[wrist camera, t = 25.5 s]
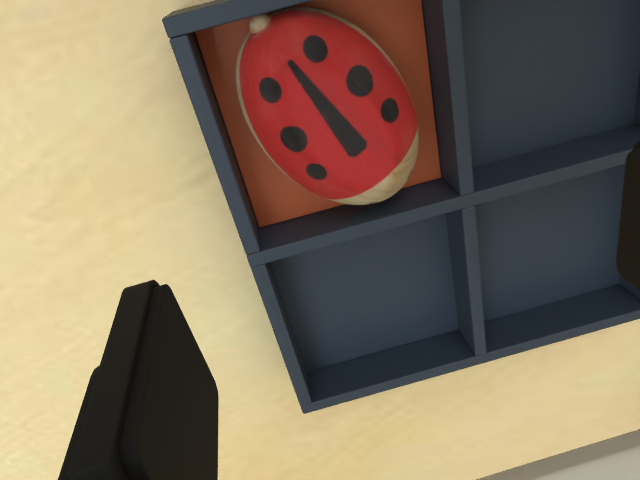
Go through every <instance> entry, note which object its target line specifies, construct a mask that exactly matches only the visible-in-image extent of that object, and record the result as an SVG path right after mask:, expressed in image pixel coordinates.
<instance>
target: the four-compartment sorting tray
mask: <svg viewBox="0 0 640 480" xmlns="http://www.w3.org/2000/svg"><path fill="white" fill-rule="evenodd" d="M288 7H309V8H315V9H320V10H324V11H327V12H330V13H333V14H336V15H338V16H340V17H342V18H344V19H346V20H348V21H350V22H352V23H353V24H355V25H356V26H357V27H359V28H360V29H361V30H363V31H364V32H365V33H366V34H367V35H369V36H370V37H371V38H372V39H373V40H374V41H375V42H376V43H377V44H378V45H379V46H380V47H381V48H382V49H383V50H384V52H385V53H386V54H387V55H388V57H389V58H390V59H391V61H392V62H393V64H394V65H395V67H396V68H397V70H398V72H399V73H400V75H401V77H402V79H403V80H404V82H405V84H406V86H407V88H408V90H409V93H410V95H411V98H412V100H413V103H414V107H415V110H416V114H417V120H418V128H419V146H418V154H417V159H416V162H415V165H414V168H413V171H412V173H411V175H410V177H409V178H408V180H407V182H406V183H405V184H404V185H403V187H402V188H401V189H400V190H399V191H398V192H397V193H395V194H394V195H393V196H391V197H389V198H388V199H386V200H384V201H381V202H378V203H373V204H367V205H350V204H344V203H338V202H335V201H332V200H328V199H325V198H323V197H321V196H318V195H316V194H314V193H312V192H310V191H308V190H307V189H305V188H303V187H302V186H300V185H299V184H297V183H296V182H295V181H293V180H292V179H291V178H289V177H288V176H287V175H286V174H285V173H284V172H282V171H281V170H280V169H279V168H278V167H277V166H276V165H275V164H274V163H273V162H272V161H271V159H270V158H269V157H268V156H267V155H266V153H265V152H264V151H263V149H262V148H261V146H260V145H259V143H258V142H257V140H256V139H255V137H254V135H253V134H252V132H251V130H250V128H249V126H248V124H247V122H246V120H245V117H244V115H243V112H242V109H241V105H240V102H239V98H238V93H237V86H236V63H237V57H238V53H239V49H240V47H241V44H242V42H243V40H244V38H245V36H246V35H247V33H248V32H249V31H250V27H249V23H250V21H251V19H252V18H253V17H254V16H256V15H260V14H266V15H268V14H270V13H272V12H274V11H276V10H279V9H283V8H288ZM162 21H163V24H164V27H165V30H166V32H167V35H168V37H169V38H171V39H170V43H171V46H172V49H173V52H174V54H175V57H176V60H177V63H178V66H179V68H180V71H181V74H182V77H183V80H184V82H185V85H186V88H187V91H188V94H189V96H190V99H191V102H192V105H193V108H194V110H195V113H196V116H197V119H198V121H199V124H200V127H201V130H202V133H203V135H204V138H205V141H206V144H207V147H208V149H209V152H210V155H211V158H212V161H213V163H214V166H215V169H216V172H217V174H218V177H219V180H220V183H221V186H222V188H223V191H224V194H225V197H226V200H227V202H228V205H229V208H230V211H231V214H232V216H233V219H234V222H235V225H236V227H237V230H238V233H239V236H240V239H241V241H242V244H243V247H244V250H245V253H246V254H247V258H248V261H249V264H250V266H251V269H252V272H253V275H254V278H255V281H256V283H257V286H258V289H259V292H260V295H261V297H262V300H263V303H264V306H265V309H266V311H267V314H268V317H269V320H270V322H271V325H272V328H273V331H274V334H275V336H276V339H277V342H278V345H279V348H280V350H281V353H282V356H283V359H284V362H285V364H286V367H287V370H288V373H289V375H290V378H291V381H292V384H293V387H294V389H295V392H296V395H297V398H298V401H299V403H300V406H301V409H302V412H303V413H304V414H305V413H309V412H312V411H316V410H319V409H323V408H326V407H330V406H333V405H337V404H340V403H344V402H347V401H351V400H355V399H358V398H362V397H365V396H369V395H372V394H376V393H379V392H383V391H386V390H390V389H393V388H397V387H400V386H404V385H407V384H411V383H414V382H418V381H421V380H425V379H429V378H432V377H436V376H439V375H443V374H446V373H450V372H453V371H457V370H460V369H464V368H467V367H471V366H474V365H478V364H481V363H485V362H488V361H492V360H496V359H499V358H503V357H506V356H510V355H513V354H517V353H520V352H524V351H527V350H531V349H534V348H538V347H541V346H545V345H548V344H552V343H555V342H559V341H563V340H566V339H570V338H573V337H577V336H580V335H584V334H587V333H591V332H594V331H598V330H601V329H605V328H608V327H612V326H615V325H619V324H622V323H626V322H629V321H633V320H637V319H640V291H638V290H637V289H636V288H635V287H633V286H632V285H631V284H630V283H628V282H627V281H626V280H624V279H623V278H622V277H621V275H620V274H619V272H618V270H617V267H616V254H617V244H618V234H619V224H620V214H621V204H622V194H623V184H624V174H625V164H626V158H627V155H628V153H629V152H631V151H632V149H633V147H634V145H635V144H636V143H637V142H639V141H640V0H215V1H212V2H208V3H204V4H200V5H197V6H193V7H189V8H185V9H182V10H178V11H174V12H172V13H170V14H169V15H167V16H166V17H164V18H163V19H162Z"/></svg>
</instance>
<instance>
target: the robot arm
mask: <svg viewBox="0 0 640 480" xmlns="http://www.w3.org/2000/svg"><path fill="white" fill-rule="evenodd" d="M616 267H617V270H618V272H619V274H620V275H621V277H622V278H623V279H624V280H626V281H627V282H628V283H630V284H631V285H632V286H633V287H635V288H636V289H637V290H638V291H640V141H639V142H637V143H636V144H635V145H634V147H633V149H632V151H631V152H629V153H628V155H627V158H626V164H625V174H624V184H623V194H622V204H621V214H620V224H619V234H618V244H617V254H616ZM217 478H218V390H217V386H216V383H215V380H214V378H213V376H212V374H211V372H210V370H209V367H208V365H207V363H206V361H205V359H204V357H203V355H202V353H201V351H200V349H199V347H198V344H197V342H196V340H195V338H194V336H193V334H192V332H191V330H190V328H189V326H188V324H187V321H186V319H185V317H184V315H183V313H182V311H181V309H180V307H179V305H178V303H177V301H176V298H175V296H174V294H173V292H172V290H171V288H170V287H169V286H168V285H167V284H165V285H161V286H160V285H159V284H158V283H157V282H156V281H155V280H151V281H148V282H144V283H141V284H137V285H134V286H130V287H127V288H125V289H124V290H123V292H122V295H121V298H120V301H119V305H118V308H117V311H116V314H115V318H114V321H113V324H112V327H111V331H110V334H109V337H108V341H107V344H106V347H105V350H104V354H103V357H102V360H101V363H100V366H98V367H97V368H95V369H94V371H93V373H92V375H91V378H90V381H89V384H88V387H87V390H86V393H85V397H84V400H83V403H82V406H81V409H80V412H79V415H78V418H77V422H76V425H75V428H74V431H73V434H72V437H71V440H70V443H69V447H68V450H67V453H66V456H65V459H64V462H63V465H62V469H61V472H60V475H59V478H58V480H217ZM477 480H640V429H639V430H636V431H633V432H629V433H626V434H623V435H620V436H616V437H613V438H610V439H607V440H603V441H600V442H597V443H594V444H590V445H587V446H584V447H580V448H577V449H574V450H571V451H567V452H564V453H561V454H558V455H554V456H551V457H548V458H545V459H541V460H538V461H535V462H532V463H528V464H525V465H522V466H519V467H515V468H512V469H509V470H506V471H503V472H499V473H496V474H493V475H490V476H487V477H483V478H480V479H477Z"/></svg>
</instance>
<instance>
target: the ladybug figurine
mask: <svg viewBox="0 0 640 480" xmlns="http://www.w3.org/2000/svg"><path fill="white" fill-rule="evenodd" d="M249 27H250V31H249V32H248V33H247V35H246V36H245V38H244V40H243V42H242V44H241V47H240V49H239V53H238V57H237V63H236V86H237V93H238V98H239V102H240V105H241V109H242V112H243V115H244V117H245V120H246V122H247V124H248V126H249V128H250V130H251V132H252V134H253V135H254V137H255V139H256V140H257V142H258V143H259V145H260V146H261V148H262V149H263V151H264V152H265V153H266V155H267V156H268V157H269V158H270V159H271V161H272V162H273V163H274V164H275V165H276V166H277V167H278V168H279V169H280V170H281V171H282V172H284V173H285V174H286V175H287V176H288V177H289V178H291V179H292V180H293V181H295V182H296V183H297V184H299V185H300V186H302V187H303V188H305V189H307V190H308V191H310V192H312V193H314V194H316V195H318V196H321V197H323V198H325V199H328V200H332V201H335V202H338V203H344V204H350V205H367V204H373V203H378V202H381V201H384V200H386V199H388V198H389V197H391V196H393V195H394V194H395V193H397V192H398V191H399V190H400V189H401V188H402V187H403V185H404V184H405V183H406V182H407V180H408V178H409V177H410V175H411V173H412V171H413V168H414V165H415V162H416V159H417V154H418V146H419V128H418V120H417V114H416V110H415V107H414V103H413V100H412V98H411V95H410V93H409V90H408V88H407V86H406V84H405V82H404V80H403V79H402V77H401V75H400V73H399V72H398V70H397V68H396V67H395V65H394V64H393V62H392V61H391V59H390V58H389V57H388V55H387V54H386V53H385V52H384V50H383V49H382V48H381V47H380V46H379V45H378V44H377V43H376V42H375V41H374V40H373V39H372V38H371V37H370V36H369V35H367V34H366V33H365V32H364V31H363V30H361V29H360V28H359V27H357V26H356V25H355V24H353V23H352V22H350V21H348V20H346V19H344V18H342V17H340V16H338V15H336V14H333V13H330V12H327V11H324V10H320V9H315V8H309V7H288V8H283V9H279V10H276V11H274V12H272V13H270V14H268V15H266V14H260V15H256V16H254V17H253V18H252V19H251V21H250V23H249Z"/></svg>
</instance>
